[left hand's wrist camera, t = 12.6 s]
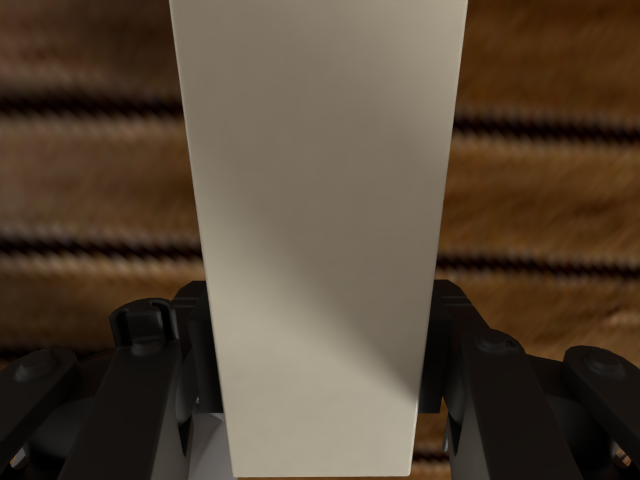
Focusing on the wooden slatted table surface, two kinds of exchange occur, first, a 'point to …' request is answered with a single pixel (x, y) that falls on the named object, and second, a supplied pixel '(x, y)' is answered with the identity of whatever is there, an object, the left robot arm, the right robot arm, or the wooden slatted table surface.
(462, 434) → the left robot arm
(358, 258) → the beam
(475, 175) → the wooden slatted table surface
